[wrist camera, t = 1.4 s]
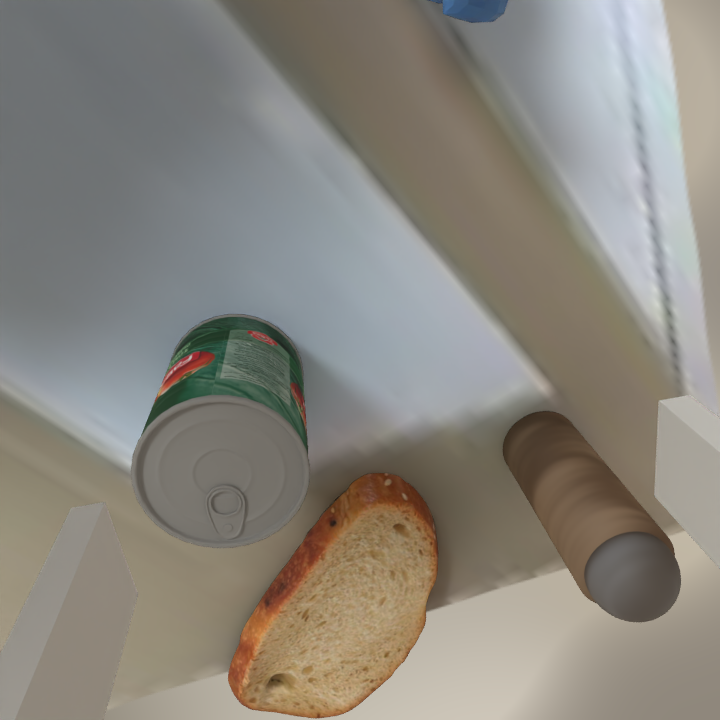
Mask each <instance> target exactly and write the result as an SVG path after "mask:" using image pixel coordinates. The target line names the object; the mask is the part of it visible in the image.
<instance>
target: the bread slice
mask: <svg viewBox="0 0 720 720" xmlns="http://www.w3.org/2000/svg"><path fill="white" fill-rule="evenodd" d="M437 572H438V545H437V536H436V530H435V525H434V521H433V518H432V515H431V512H430V510H429V508H428V507H427V505H426V503H425V501H424V500H423V498H422V497H421V496H420V495H419V493H418V492H417V491H416V490H415V489H414V488H413V487H412V486H411V485H410V484H408V483H406V482H405V481H404V480H403V479H402V478H400V477H399V476H396V475H392V474H388V473H371V474H366V475H363V476H362V477H360V478H359V479H357V480H356V481H354V482H353V483H352V484H351V485H350V486H349V488H348V489H347V491H345V492H344V493H343V494H342V495H341V496H339V497H338V498H337V500H336V501H335V502H334V503H333V504H332V505H331V506H330V507H329V508H328V509H327V510H326V511H325V512H324V513H323V514H322V515H321V517H320V519H319V520H318V522H317V523H316V524H315V525H314V527H313V528H312V529H311V530H310V531H309V532H308V534H307V536H306V538H305V539H304V541H303V543H302V544H301V545H300V546H299V548H298V549H297V550H296V551H295V553H294V554H293V556H292V558H291V559H290V560H289V562H288V563H287V564H286V565H285V567H284V568H283V569H282V571H281V572H280V573H279V575H278V576H277V577H276V579H275V580H274V582H273V583H272V584H271V586H270V587H269V588H268V590H267V591H266V593H265V594H264V596H263V597H262V599H261V601H260V602H259V604H258V605H257V607H256V609H255V610H254V612H253V614H252V615H251V617H250V618H249V620H248V621H247V623H246V625H245V627H244V629H243V631H242V633H241V637H240V643H239V646H238V648H237V650H236V652H235V654H234V657H233V660H232V662H231V665H230V669H229V674H228V681H229V684H230V687H231V689H232V691H233V693H234V695H235V696H236V698H237V699H238V700H239V702H240V703H241V704H242V705H244V706H246V707H248V708H249V709H252V710H259V711H268V712H277V713H282V714H288V715H294V716H301V717H308V718H324V717H331V716H337V715H340V714H344V713H346V712H348V711H350V710H352V709H353V708H354V707H356V706H357V705H359V704H360V703H361V702H363V701H364V700H365V699H366V698H367V697H368V696H369V695H370V694H371V693H373V692H374V691H375V690H376V689H377V688H378V687H380V686H381V685H382V684H383V683H384V682H385V681H386V680H388V679H389V678H390V677H391V676H392V674H393V673H394V671H395V670H396V669H397V668H398V667H399V665H400V664H401V663H403V662H404V661H405V659H406V657H407V656H408V654H409V652H410V650H411V649H412V647H413V646H414V645H415V643H416V641H417V640H418V638H419V635H420V634H421V632H422V630H423V628H424V626H425V622H426V603H427V600H428V596H429V593H430V591H431V589H432V587H433V585H434V583H435V581H436V577H437Z"/></svg>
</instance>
